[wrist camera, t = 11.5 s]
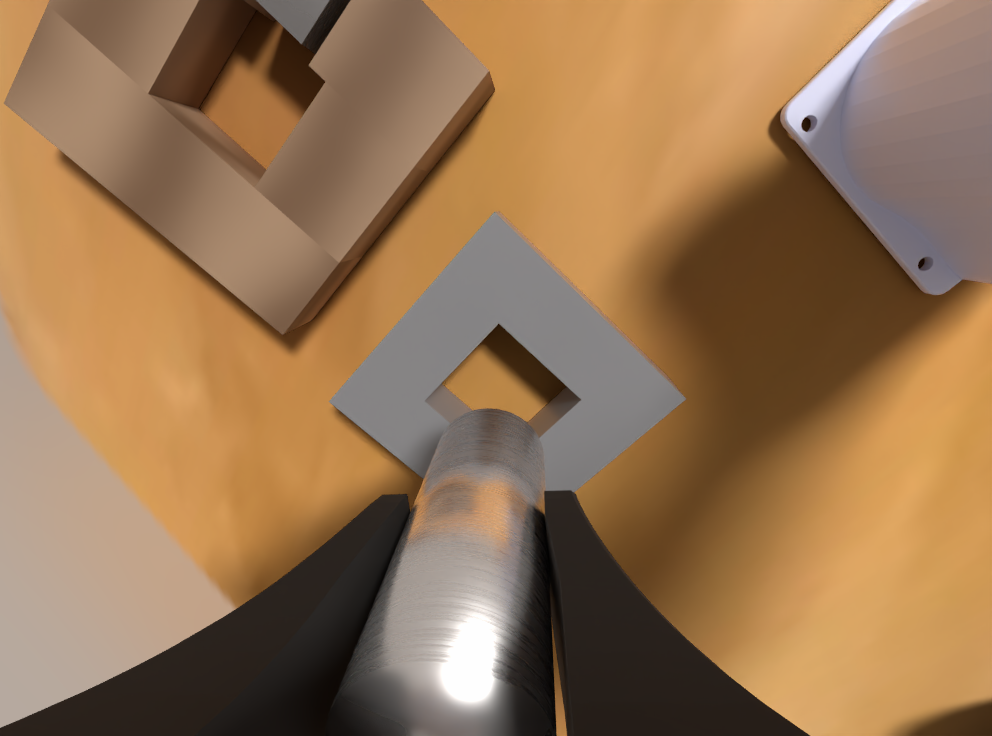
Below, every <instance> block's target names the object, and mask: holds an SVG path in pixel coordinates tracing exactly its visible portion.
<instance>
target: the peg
mask: <svg viewBox="0 0 992 736" xmlns="http://www.w3.org/2000/svg"><path fill="white" fill-rule="evenodd" d="M544 491H546V489H545V466H544V451H543V447H542V444H541V441H540V439H539V437H538V435H537V434H536V432H535V431H534V429H533V428H532V427H531V426H530V425H529V424H528V423H527V422H526V421H524V420H523V419H521V418H520V417H518V416H516V415H514V414H513V413H510V412H507V411H504V410H499V409H478V410H474V411H470V412H467V413H465V414H463V415H461V416H459V417H458V418H456V419H455V420H454V421H452V422H451V423H450V424H449V425H448V427H447V428H446V429H445V431H444V432H443V434H442V436H441V438H440V441H439V443H438V446H437V448H436V451H435V453H434V456H433V458H432V461H431V463H430V466H429V468H428V470H427V473H426V475H425V478H424V480H423V483H422V485H421V488H420V490H419V493H418V495H417V498H416V500H415V502H414V505H413V507H412V510H411V512H410V515H409V517H408V520H407V522H406V525H405V527H404V529H403V532H402V534H401V537H400V539H399V542H398V544H397V547H396V549H395V552H394V554H393V557H392V559H391V561H390V564H389V566H388V569H387V571H386V574H385V576H384V579H383V581H382V584H381V586H380V589H379V591H378V593H377V596H376V598H375V601H374V603H373V606H372V608H371V611H370V613H369V616H368V618H367V621H366V623H365V625H364V628H363V630H362V633H361V635H360V638H359V640H358V643H357V645H356V648H355V650H354V653H353V655H352V657H351V660H350V662H349V665H348V667H347V670H346V672H345V675H344V677H343V680H342V682H341V685H340V687H339V689H338V692H337V694H336V697H335V699H334V702H333V704H332V707H331V709H330V712H329V715H328V718H327V722H326V729H325V733H326V736H557V735H556V713H555V690H554V668H553V645H552V623H551V601H550V578H549V561H548V552H547V541H546V523H545V502H544Z"/></svg>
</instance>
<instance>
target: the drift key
mask: <svg viewBox="0 0 992 736" xmlns="http://www.w3.org/2000/svg"><path fill="white" fill-rule="evenodd" d="M256 1H257V2H258V3H259V4H260V5H261V6H263V7H264V8H265V9H266V10H267V11H268V12H269V13H270V14H271V15H272V16H273V17H274V18H275V19H276V20H277V21H278V22H279V23H280V24H281V25H282V26H283V27H284V28H285V29H286V30H287V31H288V32H289V33H290V34H291V35H292V36H294V37H295V38H296V39H297V40H298V41H299V42H300V43H301V44H302V45H303V46H305V47H306V48H307V49H309V50H310V51H312V52H313V53H314V54H316V53H317V51H318V50H319V48H320V47H321V45H322V44H323V42H324V41H325V39H326V38H327V36H328V35H329V33H330V31H331V30H332V28H333V27H334V25H335V24H336V22H337V21H338V19H339V18H340V16H341V14H342V13H343V11H344V10H345V8H346V7H347V5H348V4H349V2H350V1H351V0H256Z"/></svg>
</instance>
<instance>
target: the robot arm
mask: <svg viewBox="0 0 992 736" xmlns="http://www.w3.org/2000/svg"><path fill="white" fill-rule="evenodd" d="M805 117H807V118H808V119H810V121H811V127H810V129H809V130H808V131H807V132H805V131H803V130H802V127H801V124H802V121H803V119H804V118H805ZM780 121H781V123H782V125H783V127H784V128H785V129H786V131H787V132H788V133H789V134H790V135H791V137H792V138H793V139H794V140H795V141H796V142H797V144H798V145H799V146H800V147H801V148H802V150H803V151H804V152H805V153H806V154H807V156H808V157H809V158H810V159H811V160H812V161H813V163H814V164H815V165H816V166H817V167H818V169H819V170H820V171H821V172H822V173H823V175H824V176H825V177H826V178H827V179H828V180H829V182H830V183H831V184H832V185H833V186H834V188H835V189H836V190H837V191H838V192H839V193H840V195H841V196H842V197H843V198H844V199H845V201H846V202H847V203H848V204H849V205H850V207H851V208H852V209H853V210H854V211H855V212H856V214H857V215H858V216H859V217H860V218H861V220H862V221H863V222H864V223H865V224H866V226H867V227H868V228H869V229H870V230H871V231H872V233H873V234H874V235H875V236H876V237H877V239H878V240H879V241H880V242H881V243H882V245H883V246H884V247H885V248H886V249H887V250H888V252H889V253H890V254H891V255H892V256H893V258H894V259H895V260H896V261H897V262H898V263H899V265H900V266H901V267H902V268H903V269H904V271H905V272H906V273H907V274H908V275H909V277H910V278H911V279H912V280H913V281H914V282H915V284H916V285H917V286H918V287H919V288H920V290H921V291H923V292H924V293H927V294H932V295H940V294H943V293H945V292H947V291H948V290H950V289H951V288H952V287H954V286H955V285H956V284H958V283H959V282H960V281H961V280H963V279H964V280H970V281H976V282H982V283H988V284H992V0H892V1H890V2H889V3H888V4H887V5H886V6H885V7H884V8H883V9H882V10H881V11H880V12H879V13H878V14H877V15H876V16H875V17H874V18H873V19H872V20H871V21H870V22H869V23H868V24H867V25H866V26H865V27H864V28H863V29H862V30H861V31H860V32H859V33H858V34H857V35H856V36H855V37H854V38H853V39H852V40H851V41H850V42H849V43H848V44H847V45H846V46H845V47H844V48H843V49H842V50H841V51H840V52H839V53H838V54H837V55H836V56H835V57H834V58H833V59H832V60H830V61H829V62H828V63H827V64H826V65H825V66H824V67H823V68H822V69H821V70H820V71H819V72H818V73H817V74H816V75H815V76H814V77H813V78H812V79H811V80H810V81H809V82H808V83H807V84H806V85H805V86H804V87H803V88H802V89H801V90H800V91H799V92H798V93H797V94H796V95H795V96H794V97H793V98H792V99H791V100H790V101H789V102H788V103H787V104H786V105H785V106H784V108H783V109H782V112H781V115H780ZM922 258H924V259H925V263H924V265H923V266H922V267H921V268H920V269H919V268H918V263H919V261H920V260H921V259H922ZM544 502H545V523H546V541H547V552H548V561H549V578H550V601H551V617H552V624H553V632H554V639H555V646H556V653H557V660H558V667H559V674H560V681H561V688H562V695H563V703H564V710H565V719H566V728H567V736H810V735H808V734H807V733H805V732H804V731H803V730H801V729H800V728H798V727H797V726H795V725H794V724H793V723H791V722H790V721H788V720H787V719H785V718H784V717H783V716H781V715H780V714H778V713H777V712H775V711H774V710H773V709H771V708H770V707H768V706H767V705H765V704H764V703H763V702H761V701H760V700H759V699H757V698H756V697H755V696H754V695H752V694H751V693H750V692H748V691H747V690H746V689H745V688H743V687H742V686H741V685H740V684H738V683H737V682H736V681H735V680H733V679H732V678H731V677H729V676H728V675H727V674H726V673H725V672H724V671H722V670H721V669H720V668H719V667H718V666H717V665H716V664H715V663H713V662H712V661H711V660H710V659H709V658H708V657H707V656H705V655H704V654H703V653H702V652H701V651H700V650H699V649H697V648H696V647H695V646H694V645H693V644H692V643H691V642H690V641H688V640H687V639H686V638H685V637H684V636H683V635H682V634H681V633H680V632H679V631H678V630H677V629H676V628H675V627H674V626H673V625H672V624H671V623H670V622H669V621H668V620H667V619H666V618H665V617H664V616H663V615H662V614H661V613H660V612H659V611H658V610H657V609H656V608H655V607H654V606H653V604H652V603H651V602H650V601H649V600H648V599H647V598H646V597H645V596H644V595H643V593H642V592H641V591H640V590H639V589H638V588H637V587H636V585H635V584H634V583H633V582H632V581H631V579H630V578H629V577H628V576H627V574H626V573H625V572H624V571H623V569H622V568H621V567H620V566H619V564H618V563H617V562H616V560H615V559H614V558H613V556H612V555H611V554H610V552H609V551H608V549H607V548H606V546H605V545H604V543H603V542H602V540H601V539H600V538H599V536H598V535H597V533H596V531H595V530H594V528H593V527H592V525H591V523H590V522H589V520H588V518H587V517H586V515H585V513H584V511H583V509H582V507H581V505H580V503H579V501H578V499H577V496H576V494H575V493H574V492H572V491H571V490H558V491H544ZM409 515H410V508H409V502H408V496H407V494H398V495H382V496H380V497H379V498H378V499H377V500H375V501H374V502H373V503H372V504H371V505H369V506H368V507H367V508H366V509H365V510H364V511H362V512H361V513H360V514H359V515H358V516H357V517H355V518H354V519H353V520H352V521H351V522H350V523H349V524H347V525H346V526H345V527H344V528H343V529H342V530H340V531H339V532H338V533H337V534H336V535H335V536H333V537H332V538H331V539H330V540H329V541H328V542H326V543H325V544H324V545H323V546H322V547H320V548H319V549H318V550H317V551H315V552H314V553H313V554H312V555H310V556H309V557H308V558H306V559H305V560H304V561H303V562H301V563H300V564H299V565H297V566H296V567H295V568H294V569H292V570H291V571H290V572H288V573H287V574H286V575H285V576H283V577H282V578H281V579H279V580H278V581H277V582H275V583H274V584H272V585H271V586H270V587H268V588H267V589H265V590H264V591H263V592H261V593H260V594H258V595H257V596H255V597H254V598H252V599H251V600H249V601H248V602H246V603H245V604H243V605H242V606H240V607H239V608H237V609H236V610H234V611H232V612H231V613H229V614H228V615H226V616H225V617H223V618H221V619H219V620H218V621H216V622H214V623H213V624H211V625H209V626H207V627H206V628H204V629H202V630H201V631H199V632H197V633H195V634H194V635H192V636H190V637H189V638H187V639H185V640H183V641H182V642H180V643H179V644H177V645H175V646H173V647H171V648H170V649H168V650H166V651H164V652H162V653H160V654H159V655H156V656H155V657H153V658H151V659H149V660H147V661H145V662H143V663H141V664H139V665H137V666H135V667H133V668H131V669H129V670H128V671H125V672H123V673H121V674H119V675H117V676H115V677H113V678H111V679H109V680H107V681H105V682H103V683H101V684H99V685H97V686H95V687H92V688H90V689H88V690H86V691H84V692H82V693H80V694H78V695H75V696H73V697H70V698H68V699H66V700H64V701H61V702H59V703H57V704H54V705H52V706H50V707H48V708H46V709H44V710H41V711H39V712H37V713H34V714H32V715H29V716H27V717H25V718H23V719H20V720H18V721H16V722H13V723H11V724H9V725H6V726H4V727H1V728H0V736H326V733H325V729H326V722H327V718H328V715H329V712H330V709H331V707H332V704H333V702H334V699H335V697H336V694H337V692H338V689H339V687H340V685H341V682H342V680H343V677H344V675H345V672H346V670H347V667H348V665H349V662H350V660H351V657H352V655H353V653H354V650H355V648H356V645H357V643H358V640H359V638H360V635H361V633H362V630H363V628H364V625H365V623H366V621H367V618H368V616H369V613H370V611H371V608H372V606H373V603H374V601H375V598H376V596H377V593H378V591H379V589H380V586H381V584H382V581H383V579H384V576H385V574H386V571H387V569H388V566H389V564H390V561H391V559H392V557H393V554H394V552H395V549H396V547H397V544H398V542H399V539H400V537H401V534H402V532H403V529H404V527H405V525H406V522H407V520H408V517H409Z"/></svg>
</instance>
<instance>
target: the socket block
mask: <svg viewBox="0 0 992 736" xmlns="http://www.w3.org/2000/svg"><path fill="white" fill-rule="evenodd" d="M256 10H258V11H259V12H261V13H262V14H263V15H265V16H266V17H268V18H269V19H270V20H272V21H273V22H274V21H275V20H276V19H275V18H274V17H273V16H272V15H271V14H270V13H269V12H268V11H267V10H266V9H265V8H264V7H263V6H261V5H260V4H259V3H258V2H257V1H256V0H50V1H49V3H48V5H47V8H46V10H45V12H44V14H43V17H42V19H41V21H40V23H39V26H38V28H37V30H36V32H35V35H34V37H33V39H32V41H31V43H30V46H29V48H28V50H27V52H26V55H25V57H24V59H23V61H22V64H21V66H20V68H19V70H18V73H17V75H16V77H15V79H14V82H13V84H12V86H11V88H10V91H9V93H8V95H7V97H6V100H5V102H4V104H5V105H6V106H8V107H9V108H10V109H11V110H12V111H14V112H15V113H16V114H17V115H18V116H20V117H21V118H22V119H23V120H24V121H26V122H27V123H28V124H29V125H30V126H32V127H33V128H34V129H35V130H36V131H38V132H39V133H40V134H41V135H43V136H44V137H45V138H46V139H47V140H49V141H50V142H51V143H52V144H53V145H55V146H56V147H57V148H58V149H59V150H61V151H62V152H63V153H64V154H65V155H67V156H68V157H69V158H70V159H71V160H73V161H74V162H75V163H76V164H77V165H79V166H80V167H81V168H82V169H83V170H85V171H86V172H87V173H88V174H89V175H91V176H92V177H93V178H94V179H95V180H97V181H98V182H99V183H100V184H101V185H103V186H104V187H105V188H106V189H108V190H109V191H110V192H111V193H112V194H114V195H115V196H116V197H117V198H118V199H120V200H121V201H122V202H123V203H124V204H126V205H127V206H128V207H129V208H130V209H132V210H133V211H134V212H135V213H136V214H138V215H139V216H140V217H141V218H142V219H144V220H145V221H146V222H147V223H148V224H150V225H151V226H152V227H153V228H154V229H156V230H157V231H158V232H159V233H160V234H162V235H163V236H164V237H165V238H166V239H168V240H169V241H170V242H171V243H172V244H174V245H175V246H176V247H177V248H179V249H180V250H181V251H182V252H183V253H185V254H186V255H187V256H188V257H189V258H191V259H192V260H193V261H194V262H195V263H197V264H198V265H199V266H200V267H201V268H203V269H204V270H205V271H206V272H207V273H209V274H210V275H211V276H212V277H213V278H215V279H216V280H217V281H218V282H219V283H221V284H222V285H223V286H224V287H225V288H227V289H228V290H229V291H230V292H231V293H233V294H234V295H235V296H236V297H237V298H239V299H240V300H241V301H242V302H244V303H245V304H246V305H247V306H248V307H250V308H251V309H252V310H253V311H254V312H256V313H257V314H258V315H259V316H260V317H262V318H263V319H264V320H265V321H266V322H268V323H269V324H270V325H271V326H272V327H274V328H275V329H276V330H277V331H278V332H280V333H281V334H282V335H284V334H286V333H288V332H290V331H292V330H294V329H296V328H298V327H300V326H302V325H304V324H306V323H308V322H310V321H312V319H313V318H314V317H315V316H316V314H317V313H318V312H319V311H320V309H321V308H322V307H323V306H324V304H325V303H326V302H327V301H328V299H329V298H330V297H331V296H332V294H333V293H334V292H335V291H336V289H337V288H338V287H339V286H340V284H341V283H342V282H343V281H344V279H345V278H346V277H347V276H348V274H349V273H350V272H351V271H352V269H353V268H354V267H355V265H356V264H357V263H358V262H359V260H360V259H361V258H362V257H363V255H364V254H365V253H366V252H367V250H368V249H369V248H370V247H371V245H372V244H373V243H374V242H375V240H376V239H377V238H378V237H379V235H380V234H381V233H382V232H383V230H384V229H385V228H386V227H387V225H388V224H389V223H390V222H391V220H392V219H393V218H394V216H395V215H396V214H397V213H398V211H399V210H400V209H401V208H402V206H403V205H404V204H405V203H406V201H407V200H408V199H409V198H410V196H411V195H412V194H413V193H414V191H415V190H416V189H417V188H418V186H419V185H420V184H421V183H422V181H423V180H424V179H425V178H426V176H427V175H428V174H429V173H430V171H431V170H432V169H433V167H434V166H435V165H436V164H437V162H438V161H439V160H440V159H441V157H442V156H443V155H444V154H445V152H446V151H447V150H448V149H449V147H450V146H451V145H452V144H453V142H454V141H455V140H456V139H457V137H458V136H459V135H460V134H461V132H462V131H463V130H464V129H465V127H466V126H467V125H468V124H469V122H470V121H471V120H472V118H473V117H474V116H475V115H476V113H477V112H478V111H479V110H480V108H481V107H482V106H483V105H484V103H485V102H486V101H487V100H488V98H489V97H490V96H491V95H492V93H493V92H494V91H495V88H494V85H493V81H492V78H491V75H490V72H489V70H488V69H487V68H486V67H485V66H484V65H483V64H482V63H481V62H480V61H479V60H478V59H477V58H476V57H475V56H474V54H473V53H472V52H471V51H470V50H469V49H468V48H467V47H466V46H465V45H464V44H463V43H462V42H461V41H460V40H459V39H458V38H457V37H456V36H455V35H454V34H453V33H452V32H451V30H450V29H449V28H448V27H447V26H446V25H445V24H444V23H443V22H442V21H441V20H440V19H439V18H438V17H437V16H436V15H435V14H434V13H433V12H432V11H431V10H430V9H429V8H428V6H427V5H426V4H425V3H424V2H423V1H422V0H351V1H350V2H349V4H348V5H347V7H346V8H345V10H344V11H343V13H342V14H341V16H340V18H339V19H338V21H337V22H336V24H335V25H334V27H333V28H332V30H331V31H330V33H329V35H328V36H327V38H326V39H325V41H324V42H323V44H322V45H321V47H320V48H319V50H318V51H317V53H316V55H315V56H314V58H313V59H312V61H311V62H310V64H309V66H310V67H311V68H312V69H313V70H314V71H315V72H316V73H317V74H318V75H319V76H320V77H321V78H322V79H323V80H324V81H325V83H324V85H323V86H322V88H321V89H320V91H319V92H318V94H317V95H316V97H315V98H314V100H313V101H312V103H311V104H310V106H309V107H308V109H307V110H306V112H305V113H304V115H303V116H302V118H301V119H300V121H299V122H298V124H297V125H296V127H295V128H294V130H293V131H292V133H291V134H290V136H289V137H288V139H287V140H286V142H285V143H284V145H283V146H282V148H281V149H280V151H279V152H278V154H277V155H276V157H275V158H274V160H273V161H272V163H271V164H270V166H269V167H268V169H267V170H266V169H265V168H264V167H262V166H261V165H260V164H259V163H258V162H257V161H256V160H255V159H254V158H252V157H251V156H250V155H249V154H248V153H247V152H246V151H245V150H244V149H242V148H241V147H240V146H239V145H238V144H237V143H236V142H235V141H234V140H232V139H231V138H230V137H229V136H228V135H227V134H226V133H225V132H224V131H222V130H221V129H220V128H219V127H218V126H217V125H216V124H215V123H213V122H212V121H211V120H210V119H209V118H208V117H207V116H206V115H205V114H203V113H202V112H201V111H200V110H199V107H200V105H201V103H202V102H203V100H204V98H205V97H206V95H207V93H208V92H209V90H210V88H211V86H212V85H213V83H214V81H215V80H216V78H217V76H218V75H219V73H220V71H221V69H222V68H223V66H224V64H225V63H226V61H227V59H228V58H229V56H230V54H231V53H232V51H233V49H234V47H235V46H236V44H237V42H238V41H239V39H240V37H241V36H242V34H243V32H244V30H245V29H246V27H247V25H248V24H249V22H250V20H251V19H252V17H253V15H254V14H255V12H256Z"/></svg>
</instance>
